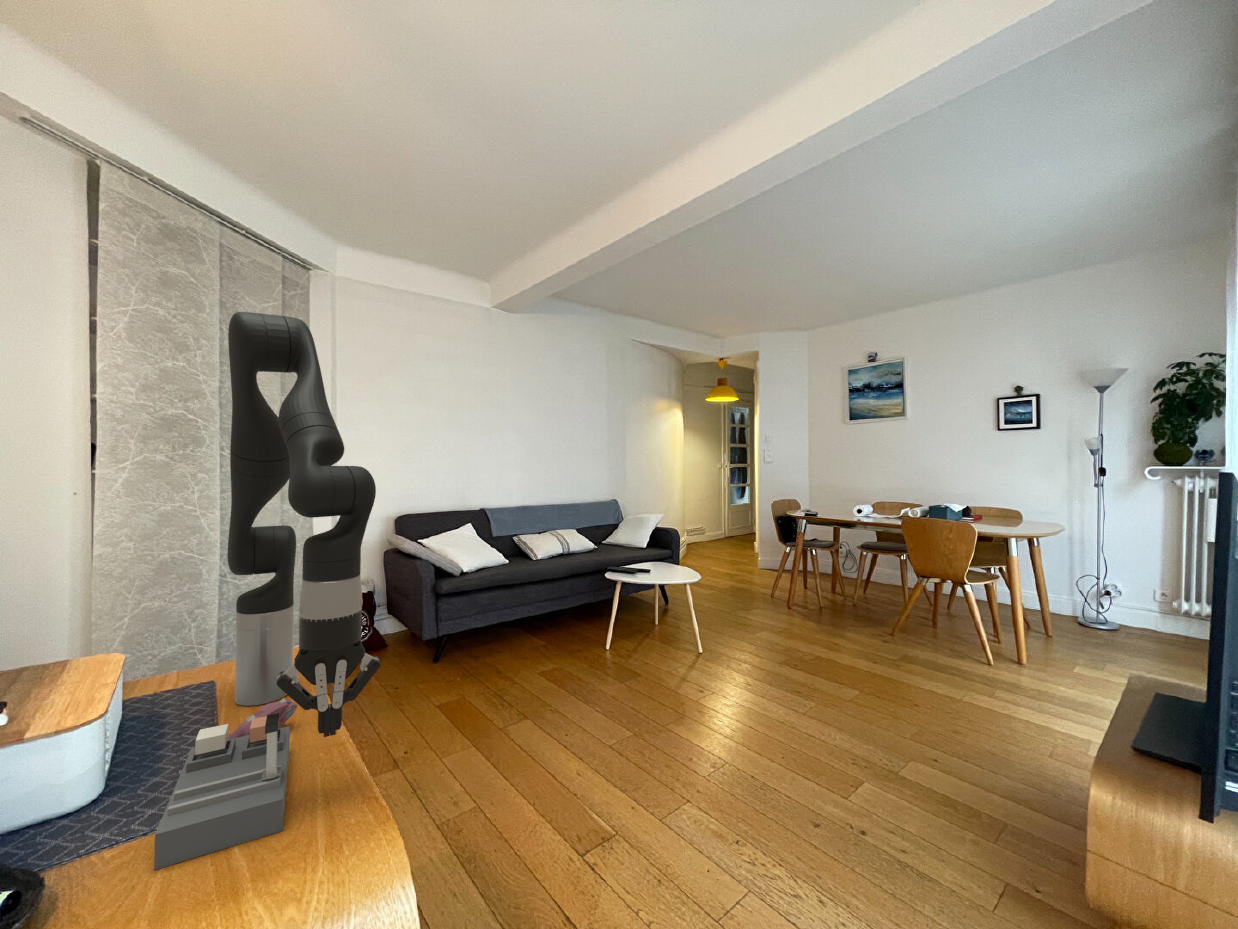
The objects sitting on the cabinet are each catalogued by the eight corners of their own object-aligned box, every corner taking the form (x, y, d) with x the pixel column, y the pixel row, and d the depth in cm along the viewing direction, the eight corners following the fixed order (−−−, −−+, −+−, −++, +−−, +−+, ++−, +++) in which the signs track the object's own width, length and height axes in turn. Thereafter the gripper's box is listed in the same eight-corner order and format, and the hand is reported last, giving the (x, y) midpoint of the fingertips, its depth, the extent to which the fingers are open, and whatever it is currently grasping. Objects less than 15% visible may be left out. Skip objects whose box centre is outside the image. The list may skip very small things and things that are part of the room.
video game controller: (237, 766, 78) (254, 728, 77) (216, 749, 79) (233, 712, 78) (290, 733, 88) (306, 699, 87) (271, 718, 89) (286, 685, 88)
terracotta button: (252, 732, 74) (252, 719, 74) (277, 727, 76) (278, 713, 76) (249, 743, 71) (249, 729, 71) (276, 736, 73) (276, 723, 73)
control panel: (191, 774, 73) (191, 739, 73) (289, 751, 79) (289, 718, 79) (154, 870, 56) (155, 824, 56) (282, 831, 62) (283, 789, 62)
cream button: (199, 743, 71) (200, 729, 71) (228, 737, 73) (228, 724, 73) (195, 755, 68) (195, 740, 68) (224, 748, 70) (225, 734, 70)
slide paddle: (263, 775, 67) (264, 716, 67) (281, 771, 68) (282, 712, 68) (261, 789, 64) (262, 727, 64) (280, 784, 65) (281, 723, 65)
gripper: (380, 596, 76) (378, 710, 76) (275, 608, 69) (273, 734, 69) (387, 609, 70) (385, 733, 70) (272, 623, 63) (269, 761, 63)
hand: (329, 733), depth 69 cm, fingers closed
